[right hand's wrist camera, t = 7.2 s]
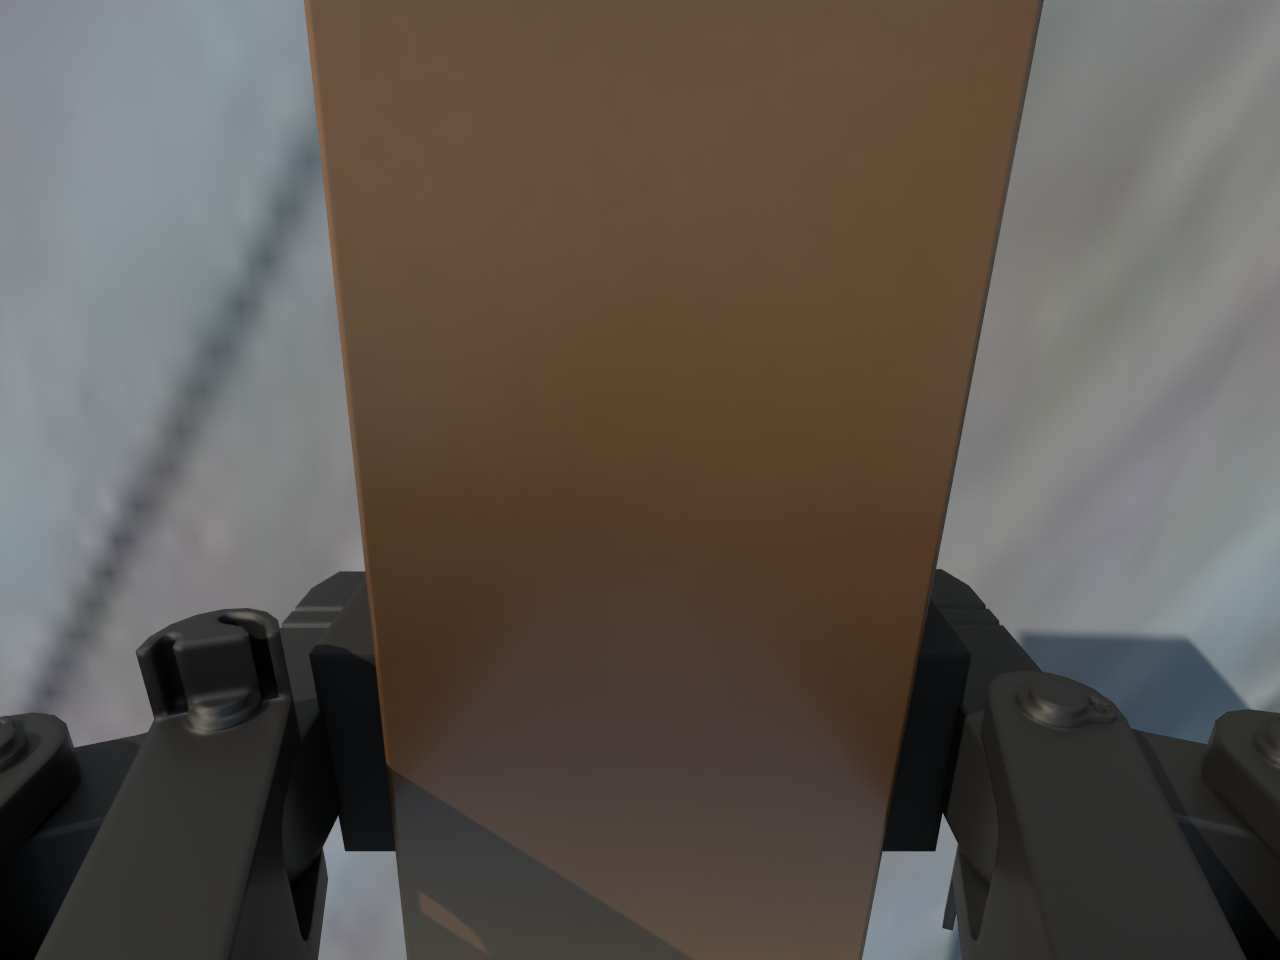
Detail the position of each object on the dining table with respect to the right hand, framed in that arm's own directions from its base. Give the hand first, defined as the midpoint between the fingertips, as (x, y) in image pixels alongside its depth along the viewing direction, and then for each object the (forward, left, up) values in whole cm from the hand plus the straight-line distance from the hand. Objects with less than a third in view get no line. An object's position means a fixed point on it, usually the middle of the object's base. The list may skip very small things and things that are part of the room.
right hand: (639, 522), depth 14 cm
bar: (-3, +34, 0) cm, 34 cm away
